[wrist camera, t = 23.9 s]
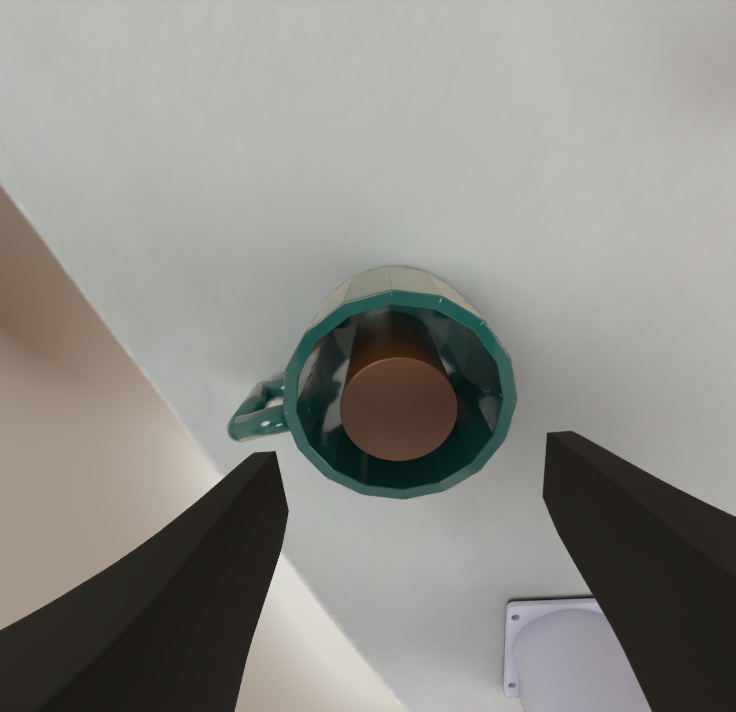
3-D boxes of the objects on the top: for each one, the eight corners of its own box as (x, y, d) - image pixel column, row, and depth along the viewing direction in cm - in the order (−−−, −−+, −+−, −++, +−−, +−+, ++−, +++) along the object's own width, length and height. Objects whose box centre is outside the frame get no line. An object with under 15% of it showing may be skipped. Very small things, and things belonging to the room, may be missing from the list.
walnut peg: (435, 385, 19) (458, 457, 14) (356, 391, 19) (347, 465, 14) (432, 308, 18) (456, 352, 12) (347, 315, 18) (332, 362, 12)
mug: (458, 244, 17) (495, 260, 12) (488, 400, 20) (530, 474, 14) (232, 308, 19) (169, 349, 13) (289, 446, 21) (256, 529, 16)
